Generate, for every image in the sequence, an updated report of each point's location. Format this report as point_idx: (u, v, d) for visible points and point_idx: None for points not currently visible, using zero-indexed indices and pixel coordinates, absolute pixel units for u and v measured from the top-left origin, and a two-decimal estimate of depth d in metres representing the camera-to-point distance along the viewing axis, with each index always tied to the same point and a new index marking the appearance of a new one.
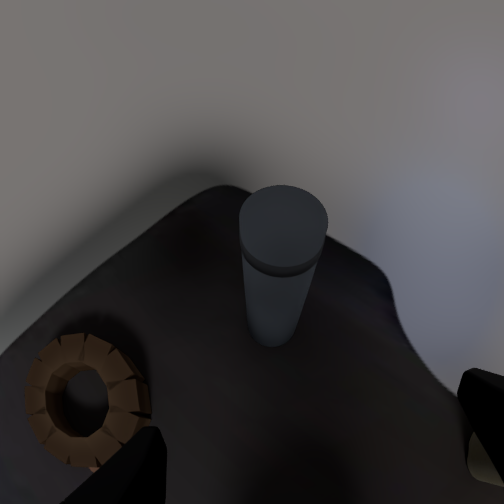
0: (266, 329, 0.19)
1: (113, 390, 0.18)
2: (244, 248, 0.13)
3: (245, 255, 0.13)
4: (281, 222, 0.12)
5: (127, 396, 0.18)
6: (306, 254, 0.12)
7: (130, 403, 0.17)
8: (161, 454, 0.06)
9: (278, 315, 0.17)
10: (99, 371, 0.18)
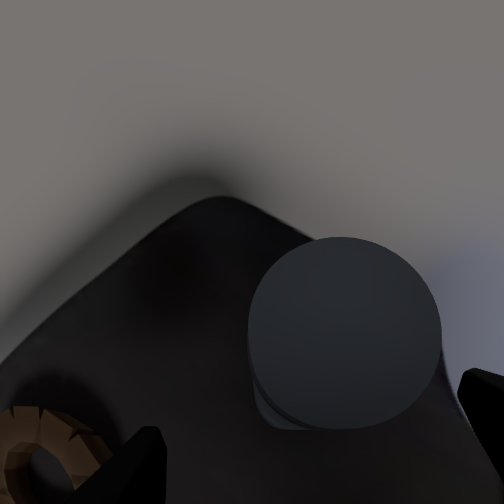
0: (285, 428, 0.11)
1: None
2: (260, 387, 0.05)
3: (261, 393, 0.06)
4: (349, 340, 0.05)
5: None
6: None
7: None
8: (161, 454, 0.06)
9: None
10: (61, 460, 0.11)
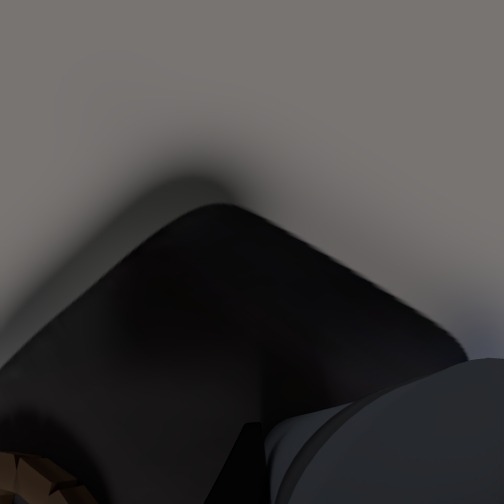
0: None
1: None
2: None
3: None
4: None
5: None
6: None
7: None
8: None
9: None
10: None
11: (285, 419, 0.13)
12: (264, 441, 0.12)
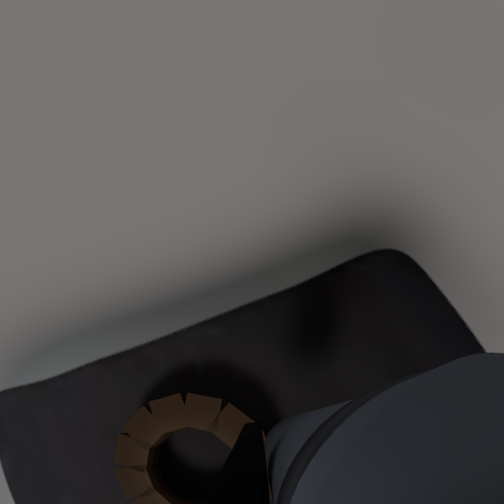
0: None
1: None
2: None
3: None
4: None
5: None
6: None
7: None
8: None
9: None
10: None
11: None
12: (265, 440, 0.12)
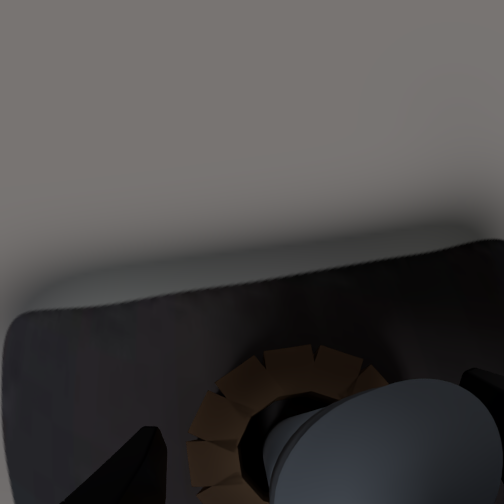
0: None
1: None
2: None
3: None
4: None
5: None
6: None
7: None
8: (161, 454, 0.06)
9: None
10: None
11: (283, 419, 0.14)
12: (264, 439, 0.13)
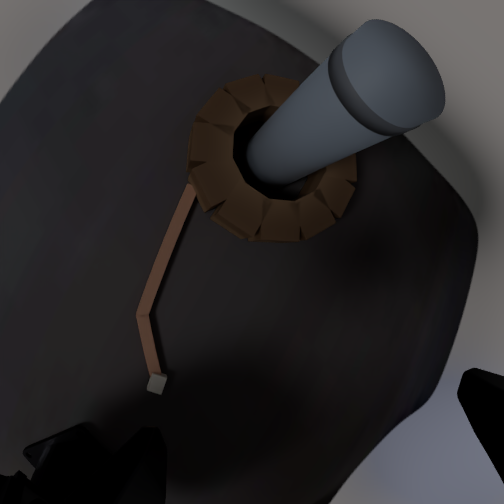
0: (265, 159, 0.15)
1: (314, 199, 0.17)
2: (340, 53, 0.08)
3: (333, 61, 0.08)
4: (401, 66, 0.07)
5: (315, 219, 0.17)
6: (401, 115, 0.07)
7: (309, 226, 0.17)
8: (161, 454, 0.06)
9: (294, 153, 0.13)
10: (326, 175, 0.17)
11: None
12: None
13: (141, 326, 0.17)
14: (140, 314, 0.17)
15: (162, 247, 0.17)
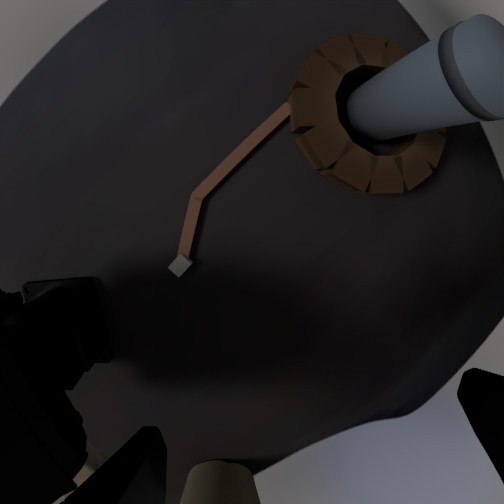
0: (363, 106, 0.14)
1: (393, 163, 0.16)
2: (452, 29, 0.06)
3: (445, 34, 0.07)
4: (500, 60, 0.06)
5: (386, 180, 0.16)
6: (487, 96, 0.06)
7: (379, 183, 0.16)
8: (161, 454, 0.06)
9: (390, 105, 0.12)
10: (411, 148, 0.16)
11: None
12: None
13: (191, 206, 0.18)
14: (195, 196, 0.18)
15: (241, 145, 0.17)
